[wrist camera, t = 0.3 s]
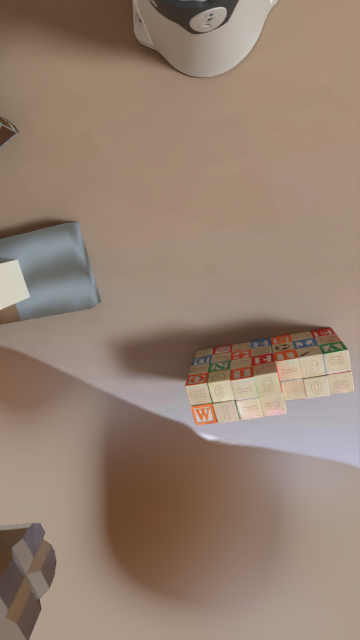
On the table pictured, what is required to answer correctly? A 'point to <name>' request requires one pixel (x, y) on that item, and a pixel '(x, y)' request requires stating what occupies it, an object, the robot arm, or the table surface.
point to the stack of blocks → (266, 375)
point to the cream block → (12, 284)
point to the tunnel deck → (50, 272)
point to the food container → (6, 131)
